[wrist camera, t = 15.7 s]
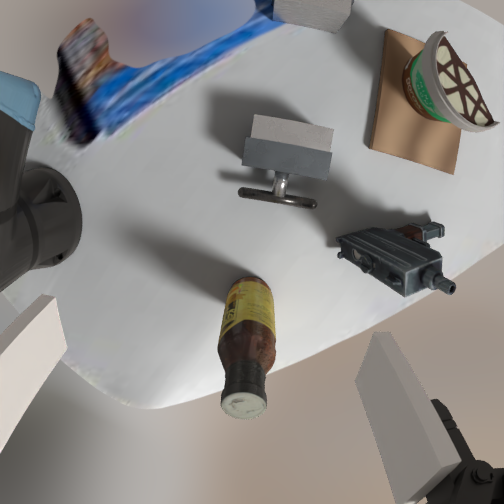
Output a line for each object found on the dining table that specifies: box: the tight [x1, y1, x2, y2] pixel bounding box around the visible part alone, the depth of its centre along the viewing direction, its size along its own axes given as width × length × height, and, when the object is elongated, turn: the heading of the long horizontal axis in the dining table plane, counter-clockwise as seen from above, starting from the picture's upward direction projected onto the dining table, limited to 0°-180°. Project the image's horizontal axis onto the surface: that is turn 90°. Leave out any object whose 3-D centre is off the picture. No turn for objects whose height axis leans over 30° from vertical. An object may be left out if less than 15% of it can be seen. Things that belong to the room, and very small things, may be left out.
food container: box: [402, 31, 500, 132], centre depth 27 cm, size 12×6×10 cm, turn 39°
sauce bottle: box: [218, 277, 276, 419], centre depth 34 cm, size 7×6×20 cm
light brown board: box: [369, 29, 467, 175], centre depth 32 cm, size 13×17×1 cm
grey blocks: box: [238, 0, 354, 209], centre depth 30 cm, size 9×28×7 cm, turn 171°
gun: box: [336, 222, 456, 297], centre depth 32 cm, size 3×17×15 cm
